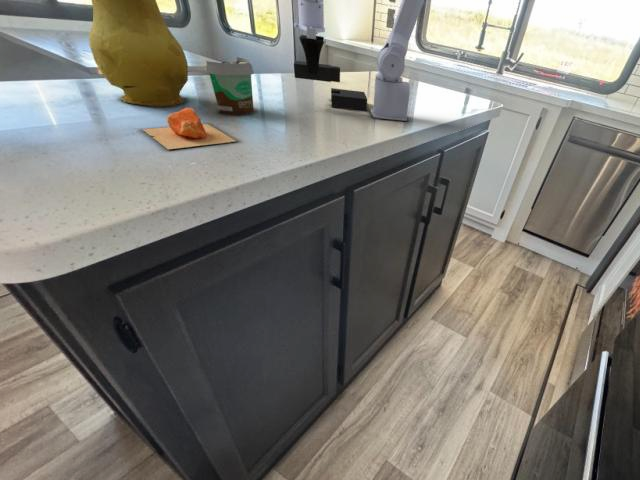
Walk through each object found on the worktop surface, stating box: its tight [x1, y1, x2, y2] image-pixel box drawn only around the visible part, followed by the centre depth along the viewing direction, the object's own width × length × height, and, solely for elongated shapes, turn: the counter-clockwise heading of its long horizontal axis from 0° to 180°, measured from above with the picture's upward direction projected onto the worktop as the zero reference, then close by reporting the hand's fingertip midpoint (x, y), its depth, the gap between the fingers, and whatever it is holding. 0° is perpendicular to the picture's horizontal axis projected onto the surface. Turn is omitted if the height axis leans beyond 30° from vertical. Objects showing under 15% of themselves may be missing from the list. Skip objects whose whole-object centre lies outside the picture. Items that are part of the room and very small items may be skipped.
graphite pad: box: [330, 87, 368, 112], centre depth 98 cm, size 10×10×3 cm
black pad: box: [293, 60, 341, 83], centre depth 86 cm, size 11×5×3 cm, turn 100°
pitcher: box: [88, 0, 189, 107], centre depth 71 cm, size 17×19×25 cm
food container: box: [206, 56, 254, 116], centre depth 77 cm, size 12×6×10 cm, turn 168°
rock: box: [141, 107, 236, 150], centre depth 62 cm, size 12×12×4 cm
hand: (313, 71), depth 86 cm, fingers closed on black pad, 5 cm apart
